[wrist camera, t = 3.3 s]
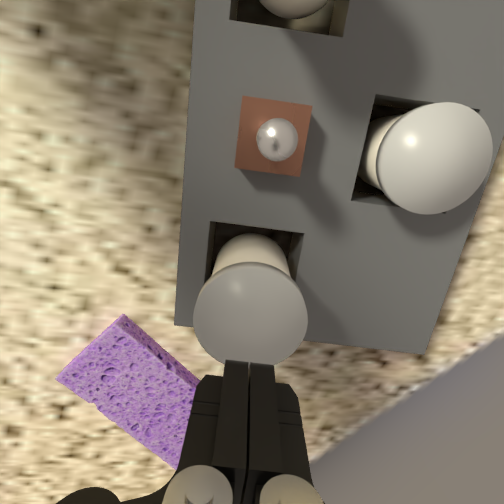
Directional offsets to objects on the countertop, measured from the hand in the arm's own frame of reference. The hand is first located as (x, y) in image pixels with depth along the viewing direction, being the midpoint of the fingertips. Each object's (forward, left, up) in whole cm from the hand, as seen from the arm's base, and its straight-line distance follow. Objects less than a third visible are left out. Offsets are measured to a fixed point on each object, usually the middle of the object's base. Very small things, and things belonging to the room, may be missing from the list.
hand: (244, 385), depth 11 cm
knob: (0, 0, -9) cm, 9 cm away
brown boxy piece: (-7, 0, -9) cm, 11 cm away
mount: (-7, +3, -13) cm, 15 cm away
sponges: (+13, -6, -13) cm, 19 cm away
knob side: (-7, +7, -12) cm, 16 cm away
